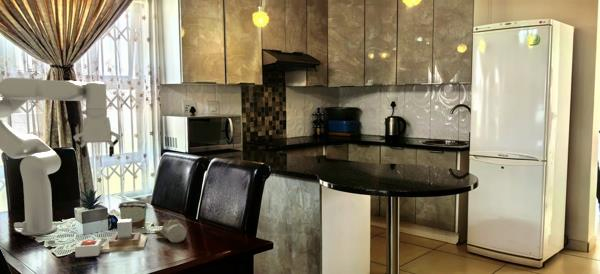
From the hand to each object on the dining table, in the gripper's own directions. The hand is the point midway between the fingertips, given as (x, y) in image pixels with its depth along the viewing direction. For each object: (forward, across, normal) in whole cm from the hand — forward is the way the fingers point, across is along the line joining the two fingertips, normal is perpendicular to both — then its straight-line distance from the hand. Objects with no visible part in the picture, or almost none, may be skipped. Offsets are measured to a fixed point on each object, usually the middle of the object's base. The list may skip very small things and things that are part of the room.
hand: (98, 156), depth 186 cm
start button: (+28, +1, -28) cm, 40 cm away
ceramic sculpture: (+31, +29, -17) cm, 45 cm away
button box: (+30, +1, -28) cm, 41 cm away
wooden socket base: (+30, +12, -21) cm, 39 cm away
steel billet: (+29, +12, -21) cm, 38 cm away
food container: (+31, +13, +6) cm, 34 cm away
